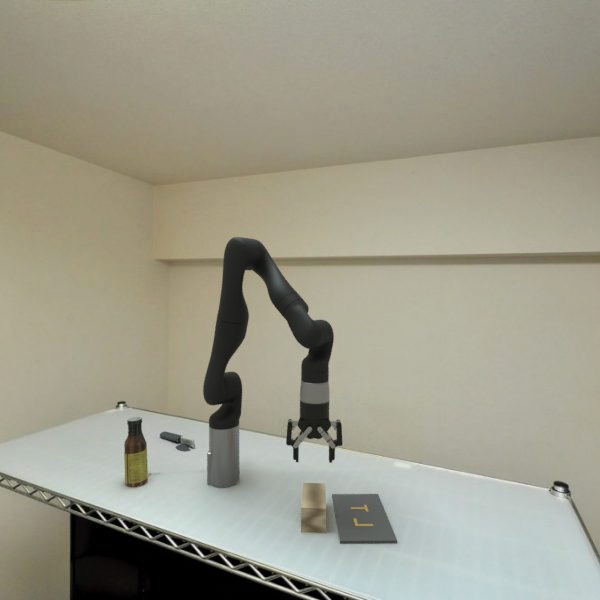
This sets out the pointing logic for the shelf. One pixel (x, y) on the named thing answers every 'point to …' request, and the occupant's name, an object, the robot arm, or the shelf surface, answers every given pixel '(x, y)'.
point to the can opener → (178, 438)
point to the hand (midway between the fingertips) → (313, 461)
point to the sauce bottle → (135, 454)
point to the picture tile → (362, 519)
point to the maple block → (313, 508)
